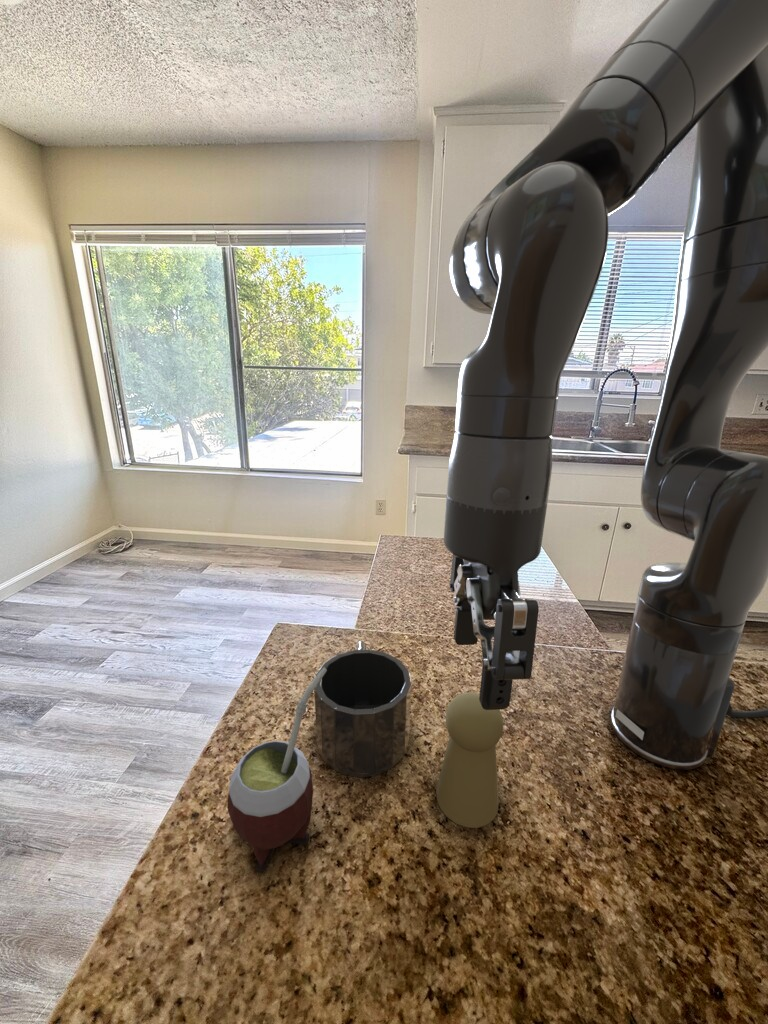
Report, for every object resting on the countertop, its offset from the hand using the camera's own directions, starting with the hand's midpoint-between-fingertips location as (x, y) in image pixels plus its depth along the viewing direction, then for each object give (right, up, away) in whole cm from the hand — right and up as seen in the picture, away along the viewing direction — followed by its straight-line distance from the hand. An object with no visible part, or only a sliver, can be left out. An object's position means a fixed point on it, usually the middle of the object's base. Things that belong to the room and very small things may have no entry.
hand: (477, 670), depth 37 cm
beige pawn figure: (0, -14, +4) cm, 15 cm away
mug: (-11, -11, +13) cm, 20 cm away
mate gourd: (-18, -15, +1) cm, 23 cm away
